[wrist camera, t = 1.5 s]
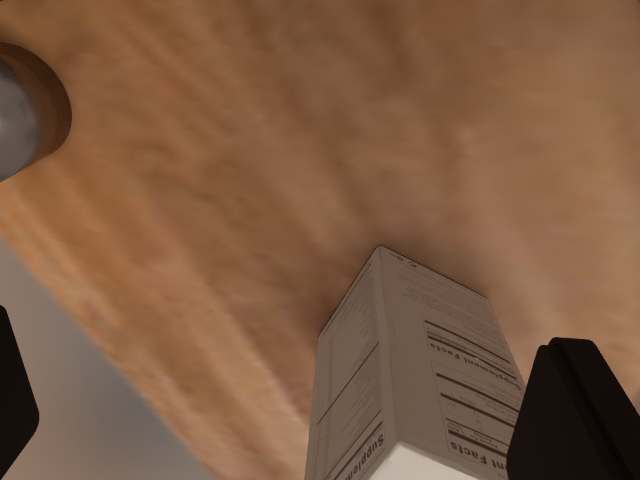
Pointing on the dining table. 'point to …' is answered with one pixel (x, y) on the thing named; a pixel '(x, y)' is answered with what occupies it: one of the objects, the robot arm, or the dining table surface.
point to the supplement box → (412, 381)
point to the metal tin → (29, 110)
